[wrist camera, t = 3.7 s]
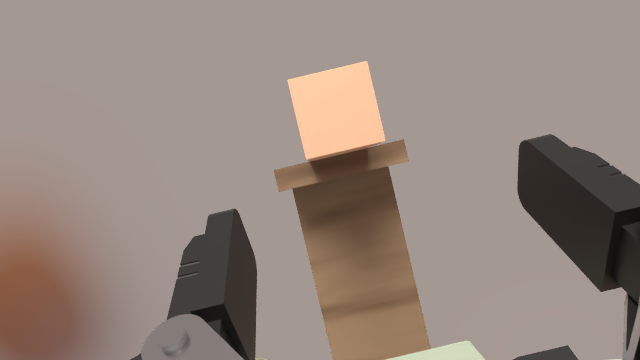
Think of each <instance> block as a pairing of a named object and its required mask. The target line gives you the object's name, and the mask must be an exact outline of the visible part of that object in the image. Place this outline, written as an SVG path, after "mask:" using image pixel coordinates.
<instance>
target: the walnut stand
mask: <svg viewBox="0 0 640 360" xmlns="http://www.w3.org/2000/svg"><path fill="white" fill-rule="evenodd" d="M407 161H408V156H407V152H406V147H405V143H404V140H400V141H395V142H391V143H387V144H383V145H378V146H374V147H370V148H366V149H361V150H357V151H353V152H349V153H345V154H340V155H336V156H332V157H328V158H323V159H319V160H315V161H311V162H307V163H302V164H298V165H294V166H290V167H285V168H281V169H277V170H274V173H275V177H276V181H277V186H278V190H279V192H280V191H285V190H289V189H293V193H294V197H295V202H296V206H297V210H298V214H299V218H300V223H301V227H302V231H303V235H304V239H305V244H306V248H307V252H308V256H309V260H310V265H311V269H312V273H313V277H314V281H315V285H316V290H317V294H318V298H319V302H320V306H321V311H322V314H323V319H324V323H325V327H326V332H327V336H328V339H329V344H330V348H331V353H332V356H333V360H386V359H390V358H394V357H399V356H403V355H407V354H412V353H416V352H420V351H424V350H429V349H430V344H429V340H428V336H427V331H426V327H425V323H424V319H423V314H422V310H421V305H420V301H419V297H418V293H417V288H416V284H415V280H414V276H413V271H412V267H411V263H410V258H409V254H408V249H407V246H406V241H405V237H404V232H403V228H402V224H401V219H400V215H399V211H398V206H397V202H396V198H395V193H394V189H393V185H392V180H391V176H390V172H389V168H388V166H390V165H395V164H399V163H403V162H407Z"/></svg>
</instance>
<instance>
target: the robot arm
mask: <svg viewBox="0 0 640 360" xmlns="http://www.w3.org/2000/svg"><path fill="white" fill-rule="evenodd" d="M518 195H519V199H520V201H521V204H522V206H523V207H524V209H525V210H526V211H527V212H528V213H529V214H530V215H531V216H532V218H533V219H534V220H535V221H536V222H537V223H538V224H539V225H540V226H541V227H542V229H543V230H544V231H545V232H546V233H547V234H548V235H549V236H550V237H551V238H552V239H553V240H554V241H555V243H556V244H557V245H558V246H559V247H560V248H561V249H562V250H563V251H564V252H565V253H566V254H567V256H568V257H569V258H570V259H571V260H572V261H573V262H574V263H575V264H576V265H577V266H578V268H580V270H581V271H582V272H583V273H584V274H585V275H586V276H587V277H588V278H589V279H590V281H591V282H592V283H593V284H594V285H595V286H596V287H597V288H598V289H599V290H600V291H601V292H603V291H607V290H611V289H615V288H619V287H622V288H623V289H624V290H625V291H626V292H627V294H626V299H625V304H624V305H625V306H624V332H623V359H622V360H640V184H638V183H637V182H635V181H634V180H632V179H631V178H630V177H628V176H626V175H625V174H622V173H621V171H619V170H618V169H616V168H615V167H614V166H610V165H609V163H608V162H606V161H605V160H603V159H602V158H600V157H599V156H598V155H596V154H594V153H591V152H588V151H585V150H582V149H580V148H576V147H572V148H571V147H569V146H568V145H567V144H565V143H564V142H562V141H561V140H559V139H558V138H557V137H555V136H554V135H551V134H550V135H545V136H541V137H537V138H533V139H528V140H524V141H522V142H521V143H520V146H519V160H518ZM180 265H181V267H180V268H179V272H178V279H177V280H176V284H175V288H174V292H173V296H172V300H171V305H170V309H169V313H168V317H167V320H166V321H165V322H163V323H162V324H160V325H159V326H158V327H157V328H155V330H154V331H152V332H151V334H150V335H149V336H148V338H147V339H146V341H145V343H144V345H143V347H142V353H141V354H139V355H138V356H136V357H134V358H133V359H131V360H255V340H256V339H255V337H256V289H257V269H256V261H255V257H254V253H253V250H252V247H251V244H250V242H249V239H248V236H247V234H246V231H245V229H244V226H243V224H242V220H241V218H240V215H239V213H238V211H237V210H236V209H232V210H227V211H223V212H219V213H215V214H210V215H209V216H208V220H207V226H206V231H205V234H203V235H199V236H195V237H194V238H193V239H192V240H191V242H190V243H189V244H188V246H187V247H186V248H185V250H184V252H183V256H182V260H181V264H180ZM514 360H578V359H577V357H576V356H575V355H574V353H573V352H572V351H571V349H570V348H569V346H564V347H559V348H555V349H551V350H547V351H542V352H538V353H533V354H529V355H525V356H520V357H517V358H515V359H514Z"/></svg>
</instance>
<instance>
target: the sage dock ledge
mask: <svg viewBox="0 0 640 360" xmlns="http://www.w3.org/2000/svg"><path fill="white" fill-rule="evenodd" d="M386 360H485V359H484V358H483V357H482V356H481V354H480V353H479V352H478V351H477V350H476V349H475V347H474V346H473V345H472V344H471V343H470V342H469V341H468V340H467V341H463V342H459V343H455V344H450V345H446V346H442V347H438V348H433V349H429V350H424V351H420V352H416V353H412V354H407V355H403V356H399V357H394V358H390V359H386Z"/></svg>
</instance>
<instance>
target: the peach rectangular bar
mask: <svg viewBox="0 0 640 360" xmlns="http://www.w3.org/2000/svg"><path fill="white" fill-rule="evenodd" d="M288 84H289V88H290V92H291V97H292V101H293V105H294V109H295V114H296V118H297V122H298V127H299V131H300V135H301V139H302V143H303V148H304V152H305V156H306V160H308V161H310V162H311V161H315V160H319V159H323V158H328V157H332V156H336V155H340V154H345V153H349V152H353V151H357V150H361V149H366V148H369V147H371V146H374V145H376V144H379V143H381V142H384V141H385V136H384V132H383V128H382V123H381V119H380V114H379V110H378V106H377V102H376V97H375V93H374V89H373V85H372V81H371V76H370V71H369V67H368V63H367V61H365V62H360V63H356V64H352V65H348V66H344V67H339V68H335V69H331V70H327V71H323V72H319V73H314V74H310V75H306V76H302V77H298V78H293V79H289V80H288Z"/></svg>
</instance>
